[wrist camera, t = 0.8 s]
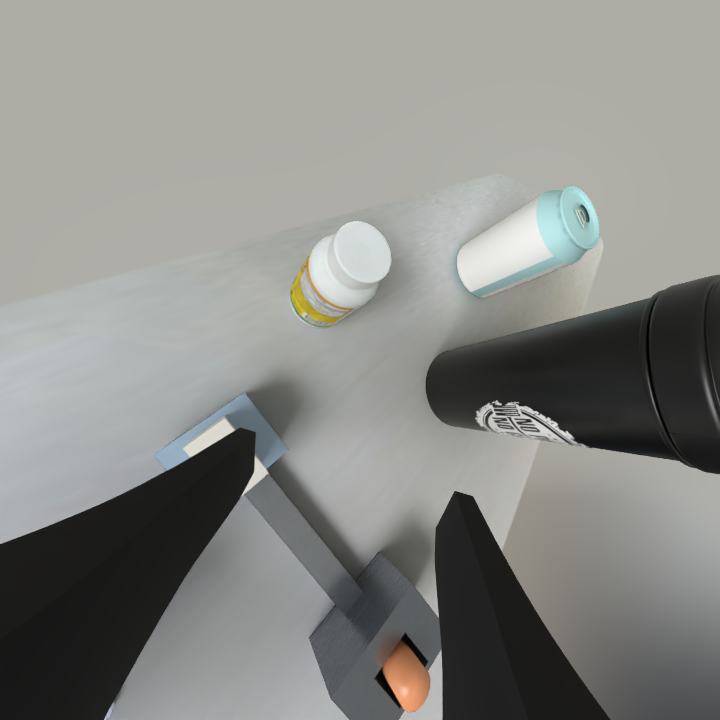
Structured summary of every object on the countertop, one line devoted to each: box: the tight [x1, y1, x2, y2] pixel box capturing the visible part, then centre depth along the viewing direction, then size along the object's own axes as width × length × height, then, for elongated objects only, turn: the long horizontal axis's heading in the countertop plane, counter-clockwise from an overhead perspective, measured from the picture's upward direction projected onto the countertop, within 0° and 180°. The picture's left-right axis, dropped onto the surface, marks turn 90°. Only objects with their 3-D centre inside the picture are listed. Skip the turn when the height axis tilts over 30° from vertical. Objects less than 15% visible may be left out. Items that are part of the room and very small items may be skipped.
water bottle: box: [426, 275, 720, 474], centre depth 22 cm, size 10×10×23 cm
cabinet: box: [309, 552, 441, 720], centre depth 22 cm, size 8×6×5 cm
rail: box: [245, 473, 363, 615], centre depth 22 cm, size 2×18×2 cm, turn 38°
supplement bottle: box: [289, 221, 391, 328], centre depth 22 cm, size 5×5×10 cm
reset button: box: [380, 638, 430, 712], centre depth 20 cm, size 2×2×4 cm
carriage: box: [154, 393, 289, 498], centre depth 18 cm, size 6×5×6 cm
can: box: [457, 186, 600, 298], centre depth 30 cm, size 7×7×12 cm
